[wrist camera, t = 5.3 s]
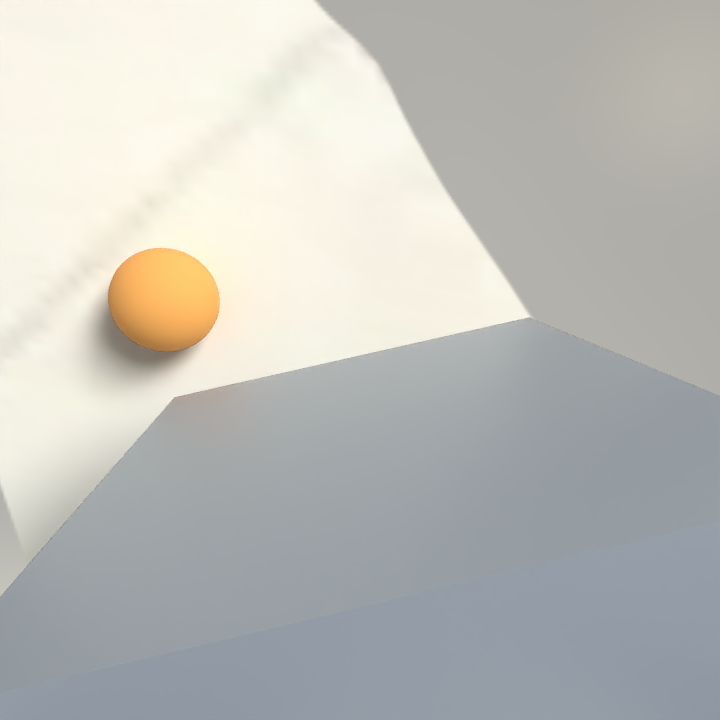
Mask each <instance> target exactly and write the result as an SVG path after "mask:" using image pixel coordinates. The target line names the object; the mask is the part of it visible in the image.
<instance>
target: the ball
mask: <svg viewBox="0 0 720 720" xmlns="http://www.w3.org/2000/svg"><path fill="white" fill-rule="evenodd" d="M108 303H109V308H110V312H111V315H112V317H113V319H114V321H115V323H116V325H117V326H118V328H119V329H120V330H121V331H122V332H123V333H124V334H125V335H126V336H127V337H128V338H129V339H130V340H132V341H133V342H135V343H137V344H138V345H140V346H143V347H145V348H148V349H151V350H156V351H165V352H167V351H177V350H182V349H185V348H188V347H190V346H192V345H194V344H196V343H197V342H199V341H200V340H202V339H203V338H204V337H205V336H206V335H207V334H208V333H209V332H210V330H211V329H212V327H213V325H214V324H215V321H216V319H217V316H218V313H219V292H218V288H217V285H216V283H215V281H214V279H213V277H212V275H211V274H210V272H209V271H208V270H207V269H206V268H205V266H204V265H203V264H201V263H200V262H199V261H198V260H197V259H195V258H193V257H192V256H190V255H188V254H186V253H184V252H181V251H178V250H174V249H167V248H154V249H148V250H145V251H142V252H139V253H137V254H135V255H133V256H131V257H130V258H128V259H127V260H126V261H125V262H124V263H122V264H121V265H120V267H119V268H118V269H117V270H116V272H115V274H114V275H113V278H112V280H111V283H110V287H109V292H108Z"/></svg>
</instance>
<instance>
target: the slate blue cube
mask: <svg viewBox="0 0 720 720" xmlns="http://www.w3.org/2000/svg"><path fill="white" fill-rule="evenodd" d="M0 720H720V396H719V395H717V394H714V393H712V392H709V391H707V390H705V389H702V388H700V387H697V386H695V385H692V384H690V383H688V382H685V381H683V380H680V379H678V378H675V377H673V376H671V375H668V374H665V373H663V372H660V371H658V370H656V369H653V368H651V367H648V366H646V365H644V364H641V363H639V362H636V361H634V360H632V359H629V358H627V357H624V356H622V355H619V354H617V353H615V352H612V351H610V350H607V349H604V348H602V347H600V346H597V345H595V344H593V343H590V342H587V341H585V340H583V339H580V338H578V337H576V336H573V335H570V334H568V333H566V332H563V331H561V330H558V329H556V328H554V327H551V326H549V325H546V324H544V323H541V322H539V321H537V320H534V319H532V318H525V319H521V320H516V321H512V322H507V323H503V324H498V325H494V326H489V327H485V328H481V329H476V330H472V331H467V332H463V333H458V334H454V335H450V336H445V337H441V338H436V339H432V340H427V341H423V342H418V343H414V344H410V345H405V346H401V347H396V348H392V349H387V350H383V351H378V352H374V353H370V354H365V355H361V356H356V357H352V358H347V359H343V360H338V361H334V362H330V363H325V364H321V365H316V366H312V367H307V368H303V369H299V370H294V371H290V372H285V373H281V374H276V375H272V376H267V377H263V378H259V379H254V380H250V381H245V382H241V383H236V384H232V385H227V386H223V387H219V388H214V389H210V390H205V391H201V392H196V393H192V394H188V395H183V396H179V397H175V398H174V399H173V400H172V401H171V402H170V403H169V405H168V406H167V407H166V408H165V409H164V410H163V411H162V413H161V414H160V415H159V416H158V417H157V418H156V419H155V421H154V422H153V423H152V424H151V425H150V426H149V427H148V429H147V430H146V431H145V432H144V433H143V434H142V435H141V437H140V438H139V439H138V440H137V441H136V442H135V443H134V445H133V446H132V447H131V448H130V449H129V450H128V451H127V453H126V454H125V455H124V456H123V457H122V458H121V459H120V461H119V462H118V463H117V464H116V465H115V466H114V467H113V469H112V470H111V471H110V472H109V473H108V474H107V475H106V477H105V478H104V479H103V480H102V481H101V482H100V483H99V485H98V486H97V487H96V488H95V489H94V490H93V491H92V493H91V494H90V495H89V496H88V497H87V498H86V499H85V501H84V502H83V503H82V504H81V505H80V506H79V507H78V509H77V510H76V511H75V512H74V513H73V514H72V515H71V517H70V518H69V519H68V520H67V521H66V522H65V524H64V525H63V526H62V527H61V528H60V529H59V530H58V532H57V533H56V534H55V535H54V536H53V537H52V538H51V540H50V541H49V542H48V543H47V544H46V545H45V546H44V548H43V549H42V550H41V551H40V552H39V553H38V554H37V556H36V557H35V558H34V559H33V560H32V561H31V562H30V564H29V565H28V566H27V567H26V568H25V569H24V571H23V572H22V573H21V574H20V575H19V576H18V577H17V578H16V580H15V581H14V582H13V583H12V584H11V585H10V586H9V588H8V589H7V590H6V591H5V592H4V593H3V595H2V596H1V597H0Z"/></svg>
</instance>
